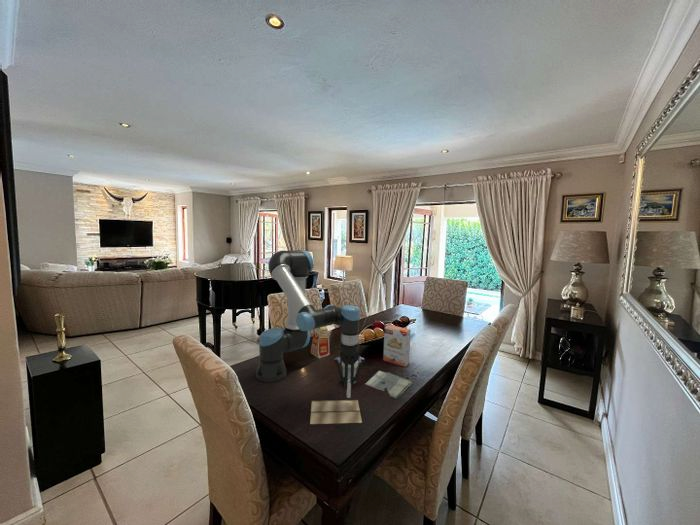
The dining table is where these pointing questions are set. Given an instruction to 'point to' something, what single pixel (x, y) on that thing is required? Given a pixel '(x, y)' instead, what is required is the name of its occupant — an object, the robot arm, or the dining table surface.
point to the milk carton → (320, 342)
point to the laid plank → (335, 417)
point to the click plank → (335, 405)
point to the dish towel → (389, 383)
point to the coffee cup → (350, 370)
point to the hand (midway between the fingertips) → (348, 396)
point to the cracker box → (396, 345)
